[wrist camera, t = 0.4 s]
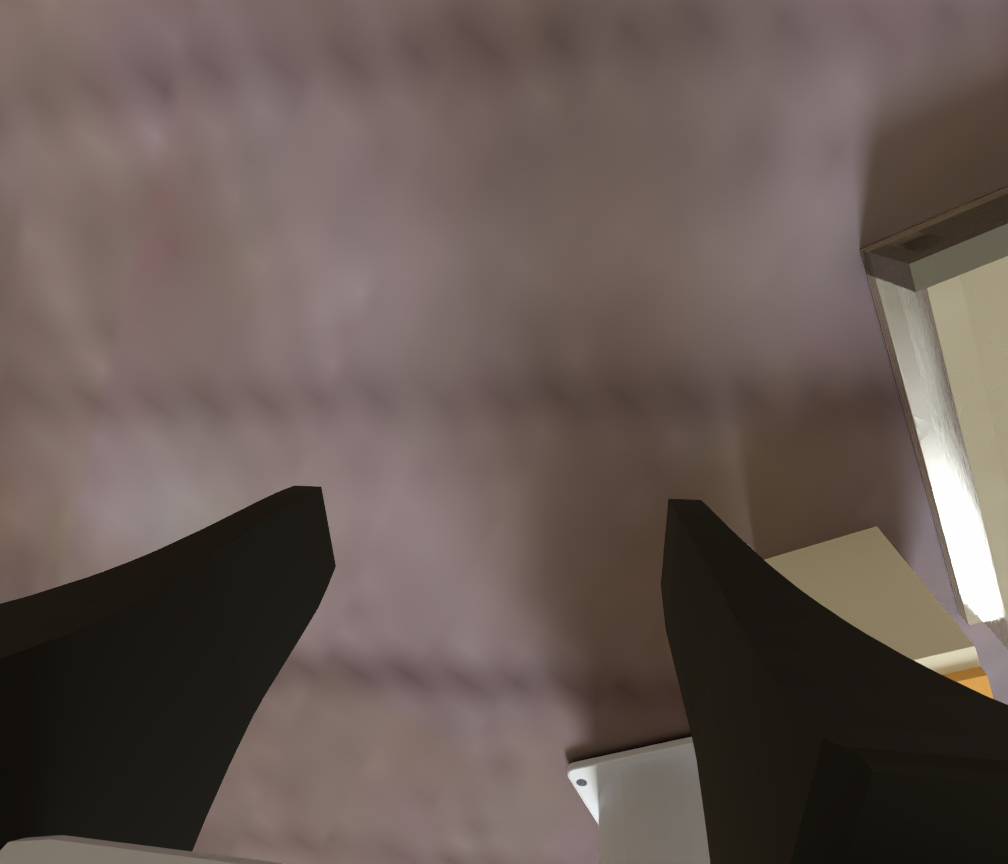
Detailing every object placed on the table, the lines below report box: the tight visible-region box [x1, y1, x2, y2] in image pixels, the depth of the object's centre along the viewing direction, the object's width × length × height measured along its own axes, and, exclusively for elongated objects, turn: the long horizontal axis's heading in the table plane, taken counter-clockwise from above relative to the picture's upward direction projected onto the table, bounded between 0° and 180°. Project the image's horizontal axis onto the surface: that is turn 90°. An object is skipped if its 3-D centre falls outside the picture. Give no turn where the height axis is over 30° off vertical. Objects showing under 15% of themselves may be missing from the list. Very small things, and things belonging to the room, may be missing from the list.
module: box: [764, 526, 993, 699], centre depth 20 cm, size 4×4×6 cm
